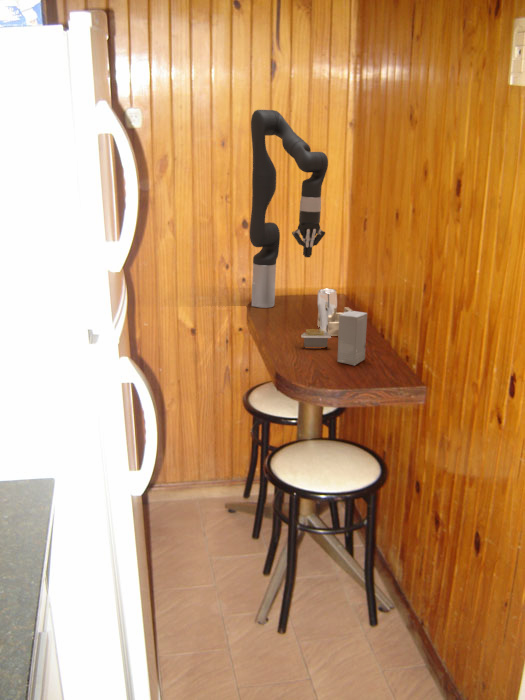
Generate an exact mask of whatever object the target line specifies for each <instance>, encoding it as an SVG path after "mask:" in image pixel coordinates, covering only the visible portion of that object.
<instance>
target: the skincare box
mask: <svg viewBox="0 0 525 700" xmlns="http://www.w3.org/2000/svg"><path fill="white" fill-rule="evenodd" d="M342 313H343V314H340V315H339V335H338V337H337V339H338V340H337V342H338V343H337V363H341V364H347V365H351V366H354V367H355V366H356V365H358V364H360V363H361V362H363V361H365V359H366V346H367V345H366V344H367V343H366V341H367V326H368V325H367V324H368V312H363V311H357V310H352V311H348V312H344V311H343V312H342Z"/></svg>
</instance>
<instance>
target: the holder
mask: <svg viewBox="0 0 525 700" xmlns="http://www.w3.org/2000/svg"><path fill="white" fill-rule="evenodd" d="M348 311H353V309H352V308H350V307H349V306H347V307H346V306H345V307H343V312H336V316H335V322H328V333H327V334H329V335H331V336H338V335H339V315H340V314H343V313H344V312H348ZM317 326H318V327H317V328H319V327H320V316H319V312H318V313H317Z"/></svg>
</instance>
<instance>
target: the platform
mask: <svg viewBox="0 0 525 700" xmlns="http://www.w3.org/2000/svg"><path fill="white" fill-rule="evenodd" d="M320 330H323V329H320V328H319V329H318V328H316V329H314V328H312V329H311V328H310V329H306V332H303V333H302V334H301V339H302V338H304V339H303V348H304V347H327V348H328V344H329V343H328V342H329V341H328V339H331V338H332V337H331V335H329V334H328V333H324V332H323V331H322V332H320Z"/></svg>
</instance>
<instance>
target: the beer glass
mask: <svg viewBox="0 0 525 700" xmlns="http://www.w3.org/2000/svg"><path fill="white" fill-rule="evenodd" d="M317 309H318V313H319V316H320V328H319V329H323V330H319V331H320V332H322V331H323V332H324V333H326V334H328V322H335V316H336V313H337V310H338V296H337V290H336V289H334V288H321V289H318V290H317Z"/></svg>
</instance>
